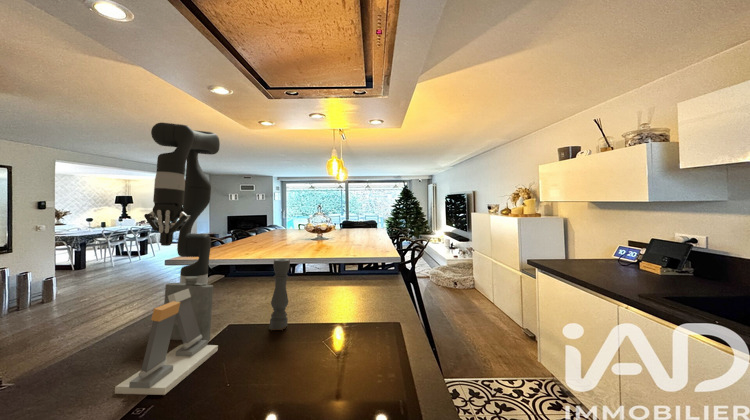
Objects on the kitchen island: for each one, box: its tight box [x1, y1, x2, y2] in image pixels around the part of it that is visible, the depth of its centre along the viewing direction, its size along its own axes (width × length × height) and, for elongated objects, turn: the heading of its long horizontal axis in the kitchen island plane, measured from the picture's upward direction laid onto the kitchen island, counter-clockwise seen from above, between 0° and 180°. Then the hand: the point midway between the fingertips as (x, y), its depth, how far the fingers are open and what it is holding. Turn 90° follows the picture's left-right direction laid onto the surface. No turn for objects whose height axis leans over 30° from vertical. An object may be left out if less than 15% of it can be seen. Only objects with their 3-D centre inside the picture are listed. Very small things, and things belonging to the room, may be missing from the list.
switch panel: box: [114, 340, 219, 396], centre depth 74 cm, size 11×23×3 cm, turn 1°
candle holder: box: [269, 258, 291, 330], centre depth 105 cm, size 6×6×25 cm
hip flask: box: [163, 276, 214, 342], centre depth 93 cm, size 16×4×20 cm, turn 85°
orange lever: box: [139, 301, 181, 379], centre depth 67 cm, size 2×6×16 cm, turn 1°
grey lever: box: [168, 289, 202, 349], centre depth 82 cm, size 2×6×16 cm, turn 2°
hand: (165, 245), depth 85 cm, fingers closed
